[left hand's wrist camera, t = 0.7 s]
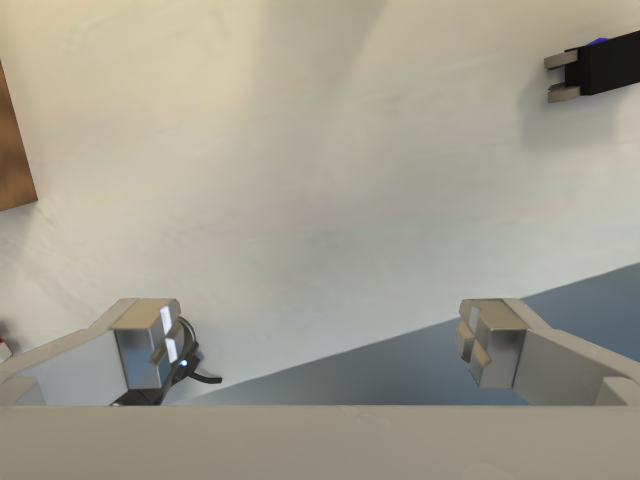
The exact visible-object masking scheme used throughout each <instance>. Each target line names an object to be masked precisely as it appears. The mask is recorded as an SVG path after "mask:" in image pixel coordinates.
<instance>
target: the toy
mask: <svg viewBox="0 0 640 480" xmlns="http://www.w3.org/2000/svg"><path fill="white" fill-rule="evenodd" d="M0 338H1V337H0ZM11 356H12V353H11V351H10V350H9V348H8V347H7V346H6V344H5V343H4V342H2V341H1V340H0V363H1V362H4V361H5V360H6V359H8V358H9V357H11Z"/></svg>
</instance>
